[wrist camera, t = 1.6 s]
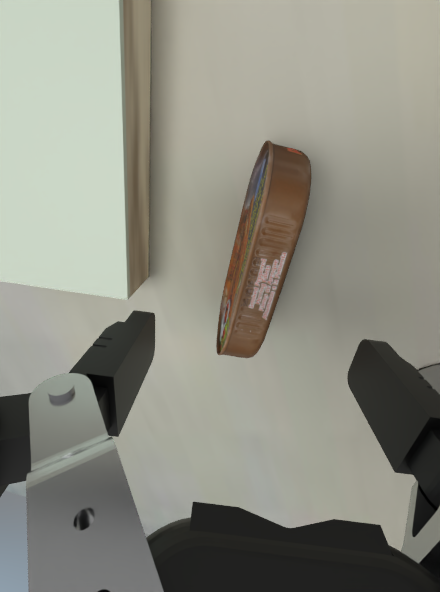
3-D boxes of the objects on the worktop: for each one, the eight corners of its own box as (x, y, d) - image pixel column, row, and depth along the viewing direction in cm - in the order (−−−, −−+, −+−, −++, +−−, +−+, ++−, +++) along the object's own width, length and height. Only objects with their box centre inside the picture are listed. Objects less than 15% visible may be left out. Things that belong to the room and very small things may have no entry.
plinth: (152, -79, 15) (113, -187, 11) (148, 276, 24) (127, 299, 20) (-18, -100, 15) (-127, -216, 11) (43, 261, 25) (-2, 281, 20)
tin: (257, 146, 19) (267, 128, 12) (298, 156, 20) (335, 144, 12) (216, 317, 26) (206, 377, 18) (247, 324, 26) (250, 387, 18)
